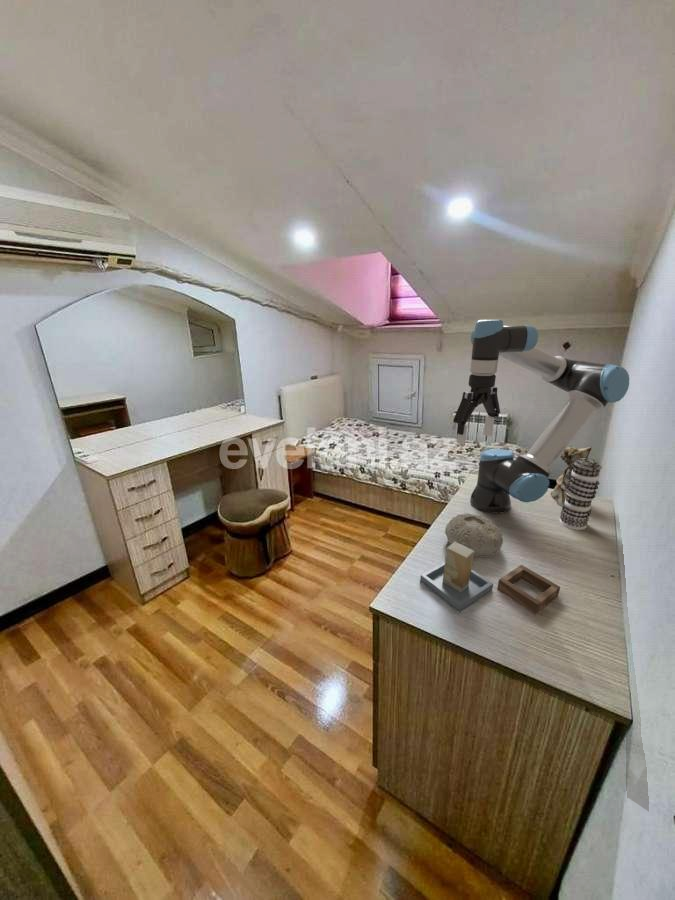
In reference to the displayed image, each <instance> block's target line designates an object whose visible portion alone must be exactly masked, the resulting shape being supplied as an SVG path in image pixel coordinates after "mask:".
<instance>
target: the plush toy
mask: <svg viewBox="0 0 675 900" xmlns="http://www.w3.org/2000/svg"><path fill="white" fill-rule="evenodd" d="M591 451H592V446H588V447H584V448H577V447H575V446H572V445H571V446H570V447H569V446H566V448H565V449H564V450H563V453H561V454H560V458H561V461H564V463H565V464H566V465H567V467H566V468H565V470H564V472H562V474H561V475H560V476H559V477H558V478H557V479H556V485H555V487H554V488H553V490H554V491H553V490H552V491H551V492H550V496H551V498H553V500H554V501H555V503H556V504H557V505H558V506H559V507H563V503H565V499H566V497H567V494H566V489H568V488H566V487H567V483H568V480H569V479H568V476H569V472H571V471H572V470H573V467H574V461H577V460H578V459H580V458H588V459H589V455H590V453H591ZM570 478H571V477H570Z"/></svg>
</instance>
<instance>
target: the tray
mask: <svg viewBox="0 0 675 900" xmlns="http://www.w3.org/2000/svg"><path fill="white" fill-rule="evenodd" d="M444 567H445V561H443V562H441V563H440V564H438V565H436V566H434V567H433V568H431V569H429V570H427V571H424V572H423V573H421V574H420V579H419V580H420V583H422V585H424V586H425V587H427V588H428V589H429V590H430V591H431V592H433V593H434V594H435V595H437V597H439V598H441V600H442V601H444V602H445V603H446V604H448V605H449V606H451V607H452V608H453V609H454V610H455V611H456V612H458V613H461V612H463V611H464V610H466V609H467V608H469V607H470V606H471V605H474V604H475V603H476V602H478V601H479V600H480V599H482V598H483V597H485V596H487V595H488V594H489V593H491V592H492V591H493V589H494V582H492V581H491V580H490V579H488V578H486V577H484V576H483V575H481V574H480V573H478V572H477V571H475V570H473V569H471V575H470V580H469V586H468V587H467V588H466V589H465V590H464V591H463V592H462V593H461V592H459V591H457V590H455V589H454V588H452V587H450V586H449V585H447V584H445V583H444V582H443V574H444Z"/></svg>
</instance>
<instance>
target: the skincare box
mask: <svg viewBox="0 0 675 900" xmlns="http://www.w3.org/2000/svg"><path fill="white" fill-rule="evenodd" d="M474 552H475V551H473V550H471V549H469V548H467V547H466V546H463V545H461V544H459V543H457V542H453V543H452V544H450V545H448V546H447V547H446V553H445V561H444V562H445V567H444V574H443V582H444V583H445V584H447V585H449V586H450V587H452V588H454V589H455V590H457V591H459V592H461V593H462V592H463V591H464V590H465V589H466V588H467V587H468V586H469V580H470V575H471V569H472V568H473V562H474ZM472 570H473V569H472Z"/></svg>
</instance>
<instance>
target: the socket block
mask: <svg viewBox="0 0 675 900" xmlns="http://www.w3.org/2000/svg"><path fill="white" fill-rule="evenodd" d="M521 580H522V581H524V583H527V584H528V585H530V586H532V587H534V588H535V589H538V590H539V591H541V592H542V593H541V594H539V595H537V597H534V596H533V595H531V594H529V593H527V592H526V591H525V590H523V589H521V588H520V587H518V586H516V585H515V584H516V583H518V582H520V581H521ZM496 590H497V591H499V592H500V593H502V594H504V595H505V596H506V597H508V598H510V599H511V600H512V601H513V602H515V603H516V604H518V605H520V606H521V607H523V608H524V609H526V610H527V611H529V612H530V613H532V614H533V615H535V616H537V615H538V614H539V613H540V612H542V611H543V609H545V608H546V607H548V606H549V605H550V604H552V603H553V601H555V600H556V599H557V598H558V597H559V593H560V590H561V586H560V585H558V584H556V583H554V582H552V581H551V580H549V579H548V578H546V577H544V576H543V575H540V574H539V573H537V572H535V571H533V570H531V569H530V568H528V567H527V566H524V565H523V564H520V565H518V566H517V567H516V568H514V569H512V570H511V571H509V572H508V573H506V574H505V575H504V576H501V577H500V578H499V579H498V583H497V588H496Z"/></svg>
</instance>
